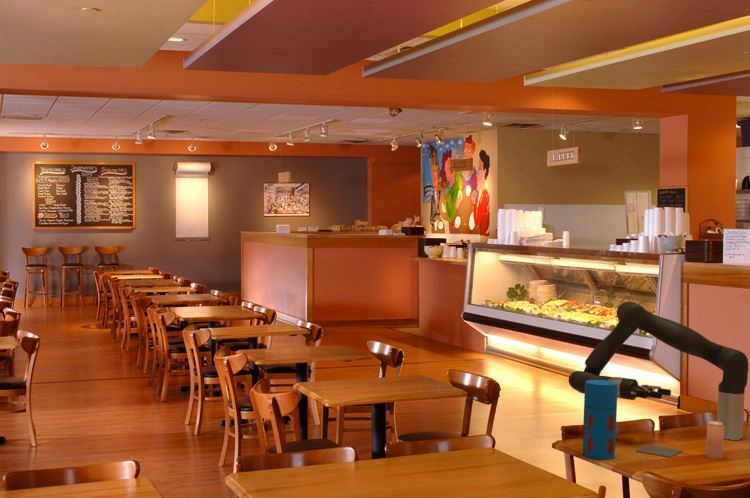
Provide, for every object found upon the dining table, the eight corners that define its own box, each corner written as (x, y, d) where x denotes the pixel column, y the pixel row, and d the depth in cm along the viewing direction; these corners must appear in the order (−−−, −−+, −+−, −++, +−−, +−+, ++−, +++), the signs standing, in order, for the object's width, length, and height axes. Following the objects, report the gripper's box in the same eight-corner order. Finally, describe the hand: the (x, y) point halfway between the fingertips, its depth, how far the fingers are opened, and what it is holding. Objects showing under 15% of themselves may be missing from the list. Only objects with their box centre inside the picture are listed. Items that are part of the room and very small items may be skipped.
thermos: (612, 452, 327) (615, 380, 326) (617, 460, 316) (620, 385, 316) (580, 451, 328) (583, 379, 327) (584, 458, 317) (586, 384, 317)
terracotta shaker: (709, 454, 329) (710, 420, 329) (725, 457, 325) (726, 422, 325) (703, 457, 325) (704, 422, 324) (719, 460, 321) (721, 424, 321)
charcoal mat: (649, 445, 339) (649, 444, 339) (682, 451, 332) (682, 450, 332) (636, 451, 330) (636, 450, 330) (669, 457, 322) (669, 456, 322)
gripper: (614, 380, 340) (658, 386, 330) (630, 375, 351) (674, 381, 341) (614, 400, 340) (658, 407, 330) (630, 396, 351) (673, 402, 341)
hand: (666, 394), depth 335 cm, fingers open, 8 cm apart
